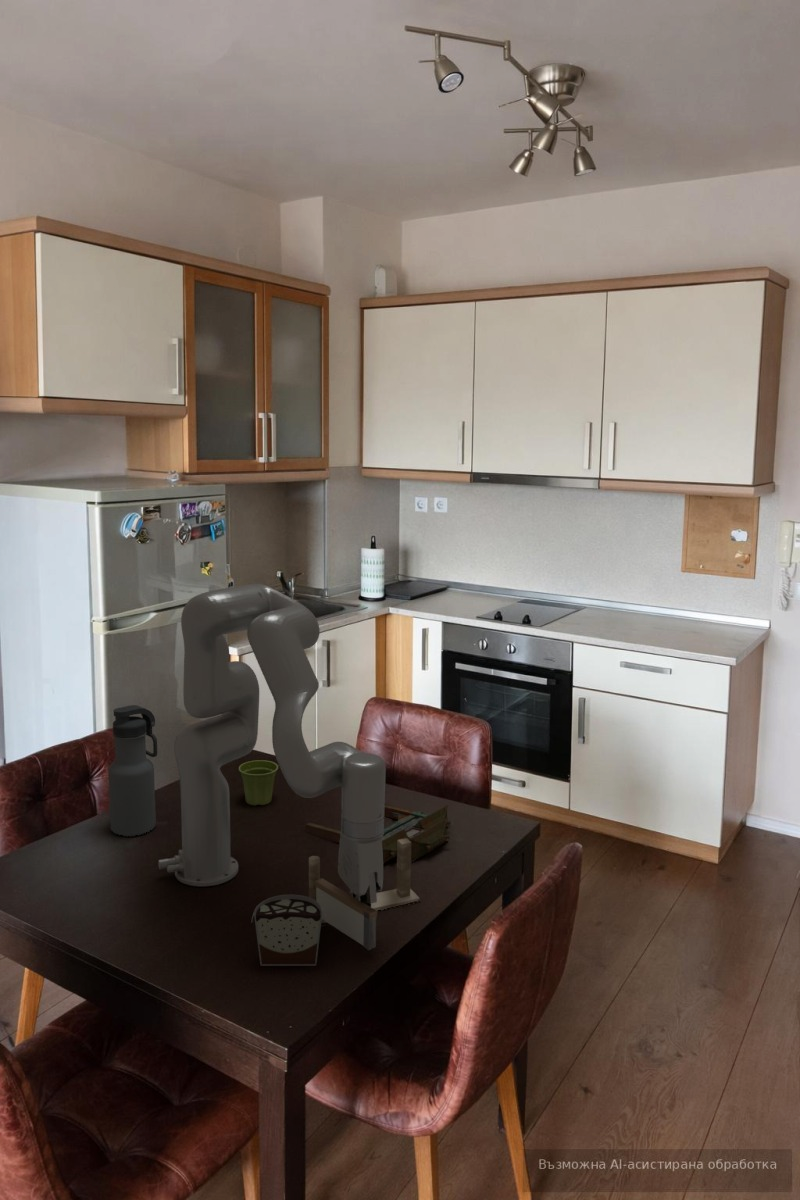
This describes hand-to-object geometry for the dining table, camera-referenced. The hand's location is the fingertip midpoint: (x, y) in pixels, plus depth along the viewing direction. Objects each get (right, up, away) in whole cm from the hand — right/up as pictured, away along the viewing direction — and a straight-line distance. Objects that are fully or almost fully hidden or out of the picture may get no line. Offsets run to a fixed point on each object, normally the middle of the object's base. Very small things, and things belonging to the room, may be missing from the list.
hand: (360, 920), depth 164 cm
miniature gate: (+3, +4, +41) cm, 41 cm away
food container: (-12, -4, -6) cm, 14 cm away
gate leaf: (-3, -2, -1) cm, 3 cm away
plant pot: (-27, +8, +59) cm, 65 cm away
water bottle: (-53, +6, +42) cm, 68 cm away
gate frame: (-1, -1, +10) cm, 10 cm away
